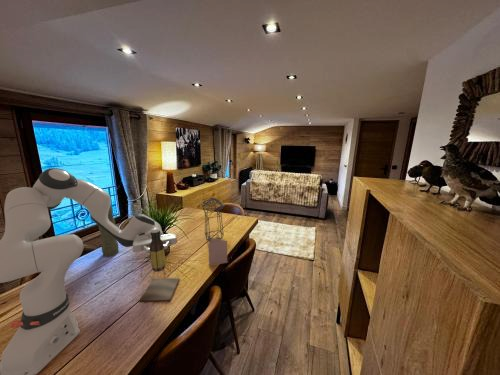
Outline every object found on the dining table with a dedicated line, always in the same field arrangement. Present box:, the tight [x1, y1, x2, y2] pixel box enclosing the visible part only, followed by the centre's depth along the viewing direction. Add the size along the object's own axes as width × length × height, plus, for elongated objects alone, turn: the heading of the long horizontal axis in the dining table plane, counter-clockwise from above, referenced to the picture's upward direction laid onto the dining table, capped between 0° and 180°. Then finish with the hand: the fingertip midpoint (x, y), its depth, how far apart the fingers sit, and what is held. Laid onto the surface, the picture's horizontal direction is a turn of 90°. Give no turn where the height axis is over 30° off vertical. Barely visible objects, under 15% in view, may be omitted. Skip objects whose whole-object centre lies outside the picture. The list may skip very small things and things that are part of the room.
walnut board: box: [139, 277, 180, 303], centre depth 99 cm, size 15×14×1 cm
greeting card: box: [208, 237, 228, 266], centre depth 121 cm, size 11×7×15 cm, turn 74°
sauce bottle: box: [149, 229, 166, 273], centre depth 94 cm, size 6×6×20 cm
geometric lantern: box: [200, 197, 225, 244], centre depth 148 cm, size 16×16×35 cm
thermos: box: [97, 204, 120, 258], centre depth 127 cm, size 9×12×35 cm
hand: (157, 249), depth 93 cm, fingers closed on sauce bottle, 6 cm apart
